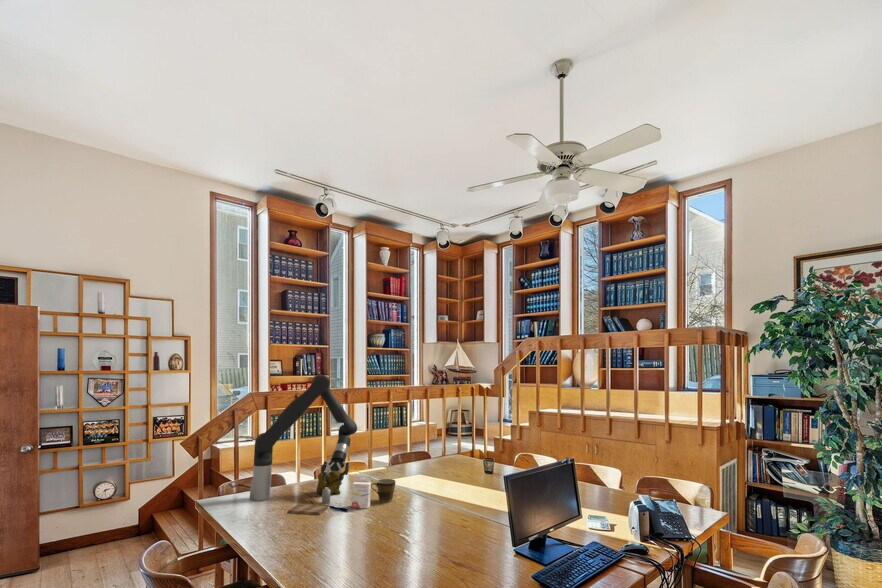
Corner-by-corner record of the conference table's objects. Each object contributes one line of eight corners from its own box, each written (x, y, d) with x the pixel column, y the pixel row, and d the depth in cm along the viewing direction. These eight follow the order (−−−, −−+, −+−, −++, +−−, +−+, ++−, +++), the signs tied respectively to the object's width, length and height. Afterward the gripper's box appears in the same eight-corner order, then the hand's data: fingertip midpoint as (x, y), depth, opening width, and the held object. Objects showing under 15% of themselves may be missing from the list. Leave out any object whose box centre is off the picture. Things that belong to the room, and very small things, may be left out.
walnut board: (287, 513, 228) (288, 510, 228) (297, 506, 237) (297, 504, 237) (319, 514, 225) (319, 511, 225) (327, 508, 235) (327, 505, 235)
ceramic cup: (392, 497, 256) (393, 478, 257) (397, 502, 246) (397, 482, 248) (368, 499, 252) (369, 479, 253) (372, 504, 242) (372, 484, 244)
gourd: (318, 490, 269) (319, 464, 271) (343, 489, 271) (344, 463, 273) (315, 497, 256) (316, 470, 257) (342, 496, 258) (343, 469, 259)
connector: (320, 506, 239) (321, 488, 240) (323, 504, 243) (324, 486, 244) (328, 507, 238) (329, 488, 239) (331, 504, 242) (332, 486, 243)
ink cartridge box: (351, 508, 237) (352, 477, 239) (353, 505, 241) (355, 474, 244) (368, 508, 236) (369, 477, 238) (370, 505, 241) (371, 475, 243)
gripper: (326, 449, 260) (316, 475, 247) (351, 450, 258) (343, 477, 245) (329, 457, 264) (320, 484, 251) (354, 458, 262) (346, 485, 249)
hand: (331, 480), depth 248 cm, fingers open, 8 cm apart
